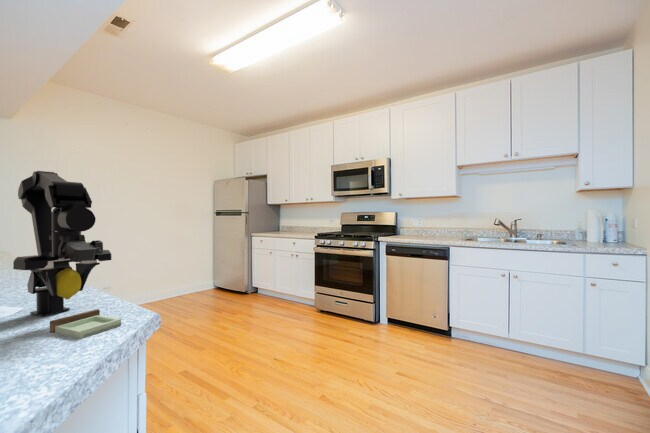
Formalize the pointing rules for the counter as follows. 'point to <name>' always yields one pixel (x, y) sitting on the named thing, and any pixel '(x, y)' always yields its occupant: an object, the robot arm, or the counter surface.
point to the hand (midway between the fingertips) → (67, 293)
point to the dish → (87, 326)
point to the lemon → (67, 283)
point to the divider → (72, 319)
